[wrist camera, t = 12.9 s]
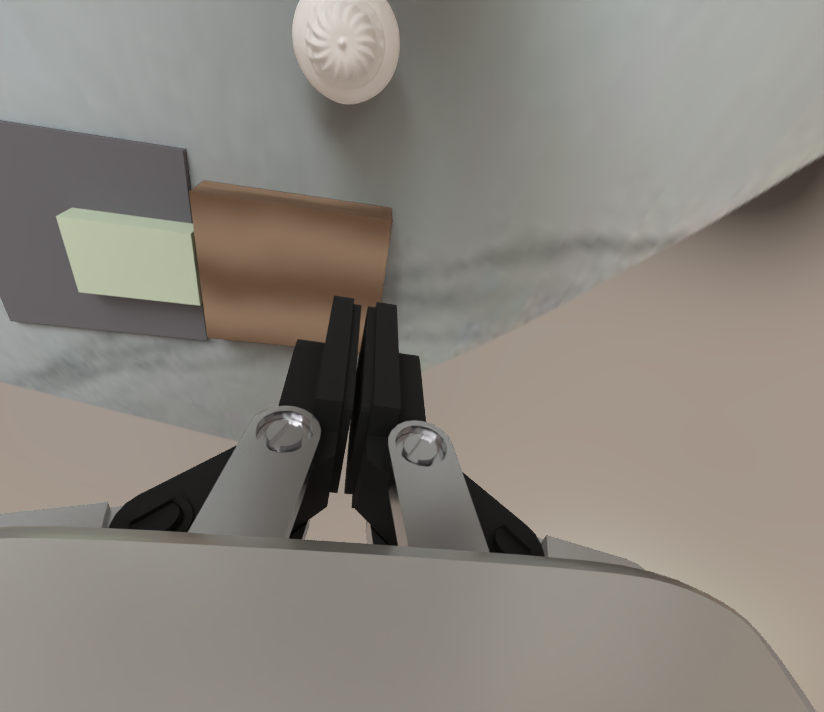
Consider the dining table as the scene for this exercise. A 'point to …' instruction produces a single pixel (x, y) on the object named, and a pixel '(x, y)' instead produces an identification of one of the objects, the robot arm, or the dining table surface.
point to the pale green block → (131, 256)
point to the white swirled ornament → (346, 47)
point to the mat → (93, 190)
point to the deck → (284, 261)
